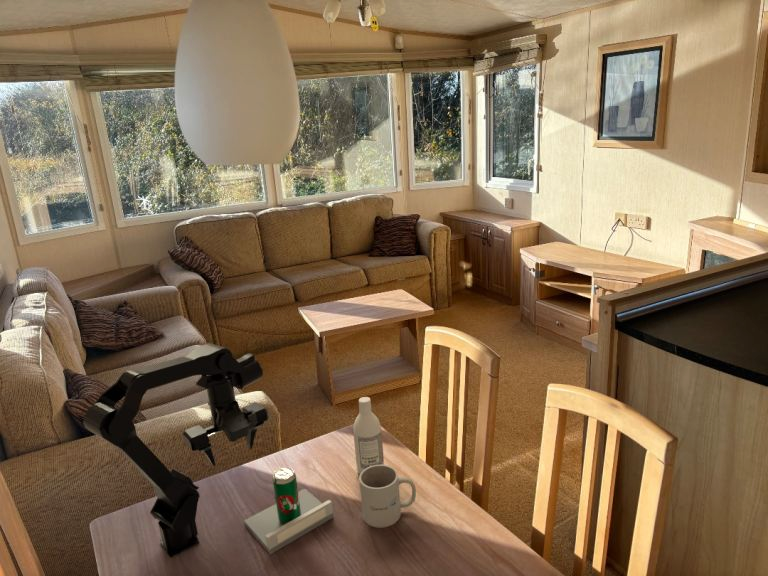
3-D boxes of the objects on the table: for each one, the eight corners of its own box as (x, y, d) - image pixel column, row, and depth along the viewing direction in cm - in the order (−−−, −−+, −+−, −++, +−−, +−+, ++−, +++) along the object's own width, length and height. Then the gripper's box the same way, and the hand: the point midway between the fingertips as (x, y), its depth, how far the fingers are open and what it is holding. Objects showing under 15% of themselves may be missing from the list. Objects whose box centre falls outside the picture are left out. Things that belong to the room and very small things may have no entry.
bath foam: (389, 470, 140) (384, 400, 134) (366, 481, 137) (359, 409, 131) (375, 458, 146) (369, 389, 140) (352, 467, 142) (345, 398, 136)
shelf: (270, 555, 116) (268, 538, 114) (244, 525, 125) (242, 509, 124) (334, 517, 125) (332, 502, 124) (305, 492, 134) (303, 477, 133)
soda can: (289, 508, 127) (282, 463, 124) (306, 515, 125) (299, 470, 121) (274, 522, 123) (266, 476, 120) (291, 529, 121) (284, 483, 117)
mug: (361, 528, 121) (357, 489, 118) (364, 501, 130) (360, 465, 127) (417, 526, 121) (414, 487, 118) (416, 500, 129) (414, 463, 126)
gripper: (195, 427, 114) (207, 491, 118) (275, 394, 125) (284, 454, 129) (176, 407, 122) (188, 468, 127) (253, 379, 133) (262, 435, 138)
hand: (232, 456), depth 130 cm, fingers open, 9 cm apart
